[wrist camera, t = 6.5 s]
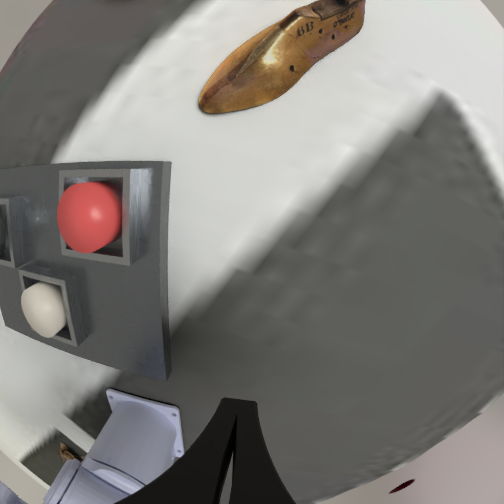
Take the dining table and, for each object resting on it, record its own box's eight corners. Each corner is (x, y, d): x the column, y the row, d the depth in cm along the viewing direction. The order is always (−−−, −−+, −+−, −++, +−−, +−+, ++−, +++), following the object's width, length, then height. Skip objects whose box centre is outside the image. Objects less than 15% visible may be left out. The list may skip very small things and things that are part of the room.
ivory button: (77, 329, 21) (61, 343, 18) (43, 317, 21) (27, 330, 18) (69, 282, 19) (50, 294, 17) (35, 274, 20) (16, 284, 17)
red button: (128, 246, 18) (110, 257, 16) (79, 240, 18) (59, 249, 16) (129, 181, 17) (109, 183, 15) (78, 180, 17) (56, 183, 15)
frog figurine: (44, 427, 31) (33, 440, 27) (102, 455, 30) (92, 472, 27) (64, 460, 34) (56, 472, 30) (116, 484, 34) (110, 499, 30)
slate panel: (171, 370, 23) (160, 392, 20) (13, 320, 24) (-3, 331, 21) (171, 161, 18) (153, 160, 15) (-6, 170, 19) (-26, 173, 16)
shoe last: (188, 90, 17) (163, 70, 12) (343, 0, 14) (357, -33, 9) (224, 136, 18) (208, 126, 13) (381, 41, 15) (405, 14, 10)
